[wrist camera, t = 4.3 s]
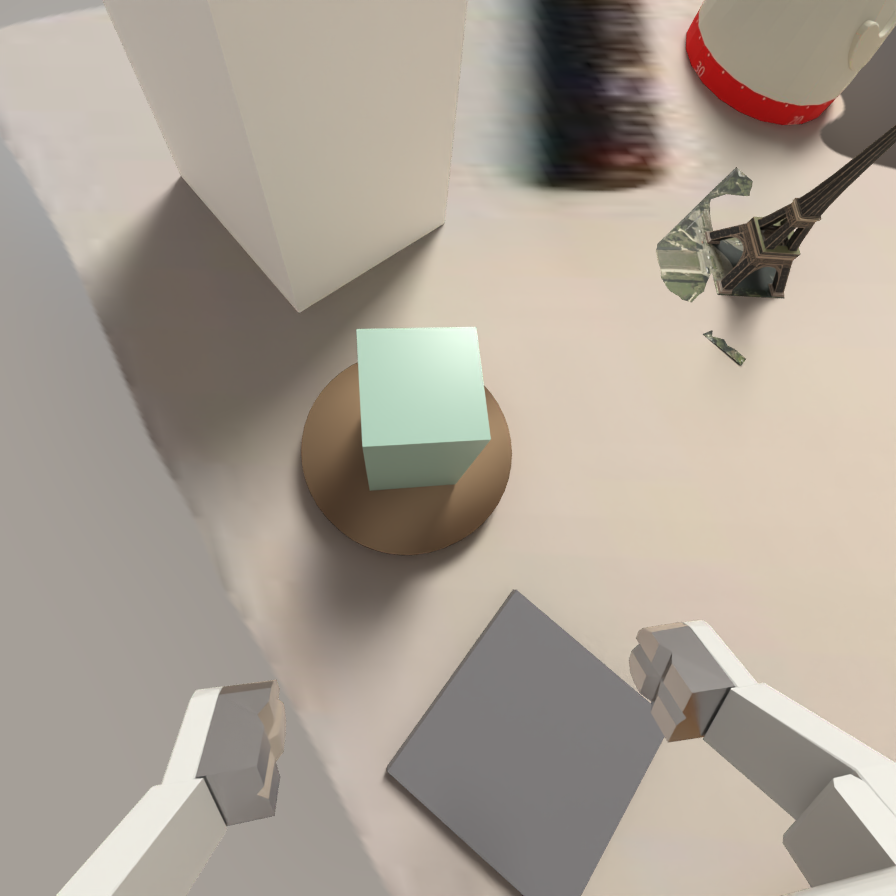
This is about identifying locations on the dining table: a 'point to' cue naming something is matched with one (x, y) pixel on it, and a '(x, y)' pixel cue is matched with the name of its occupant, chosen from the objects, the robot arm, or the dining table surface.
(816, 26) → the kitchen timer
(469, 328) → the mint rectangular pillar
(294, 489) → the dining table surface
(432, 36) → the milk
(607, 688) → the charcoal mat
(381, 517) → the post stand
